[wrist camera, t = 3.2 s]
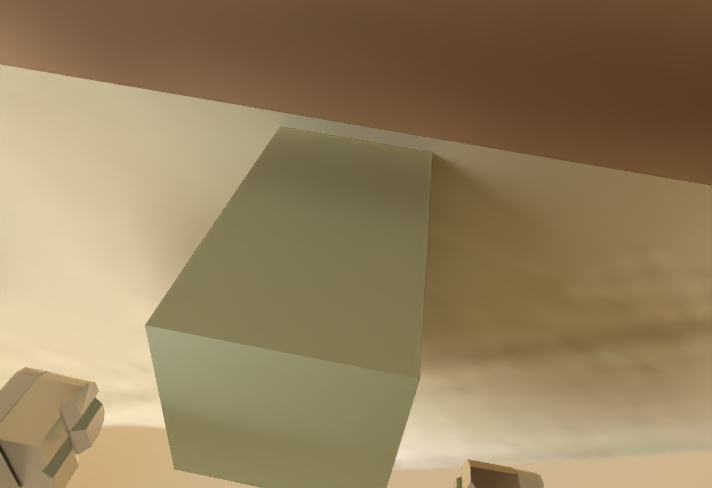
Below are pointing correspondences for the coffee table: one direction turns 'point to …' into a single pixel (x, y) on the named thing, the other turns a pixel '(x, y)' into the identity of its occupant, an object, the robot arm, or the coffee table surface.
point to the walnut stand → (413, 67)
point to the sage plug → (300, 319)
